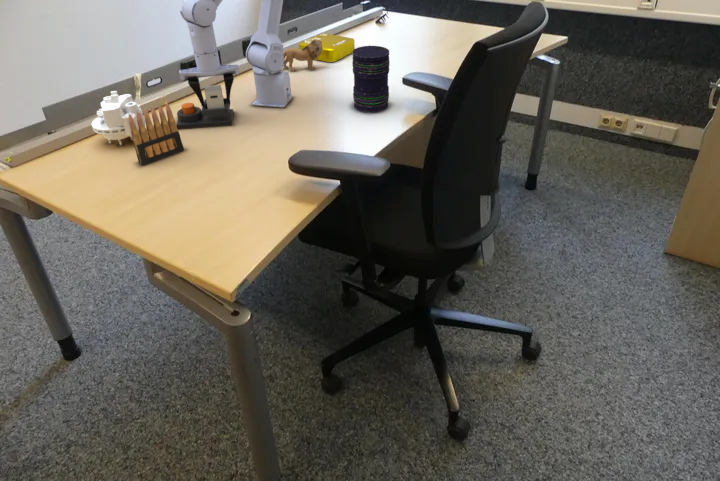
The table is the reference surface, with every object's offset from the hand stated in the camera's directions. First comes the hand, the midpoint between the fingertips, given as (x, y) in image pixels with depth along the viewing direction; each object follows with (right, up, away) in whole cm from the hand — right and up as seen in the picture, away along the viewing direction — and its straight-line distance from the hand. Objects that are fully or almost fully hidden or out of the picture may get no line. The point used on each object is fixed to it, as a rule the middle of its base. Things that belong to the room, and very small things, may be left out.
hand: (215, 103), depth 135 cm
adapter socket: (0, -1, +1) cm, 2 cm away
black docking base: (-3, -4, +3) cm, 6 cm away
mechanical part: (-22, -11, -6) cm, 25 cm away
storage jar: (+41, +1, +9) cm, 42 cm away
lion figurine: (+19, +20, +34) cm, 44 cm away
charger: (0, -1, +1) cm, 2 cm away
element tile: (+26, +29, +45) cm, 60 cm away
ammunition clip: (-9, -16, -13) cm, 23 cm away
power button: (-7, -2, +1) cm, 7 cm away
